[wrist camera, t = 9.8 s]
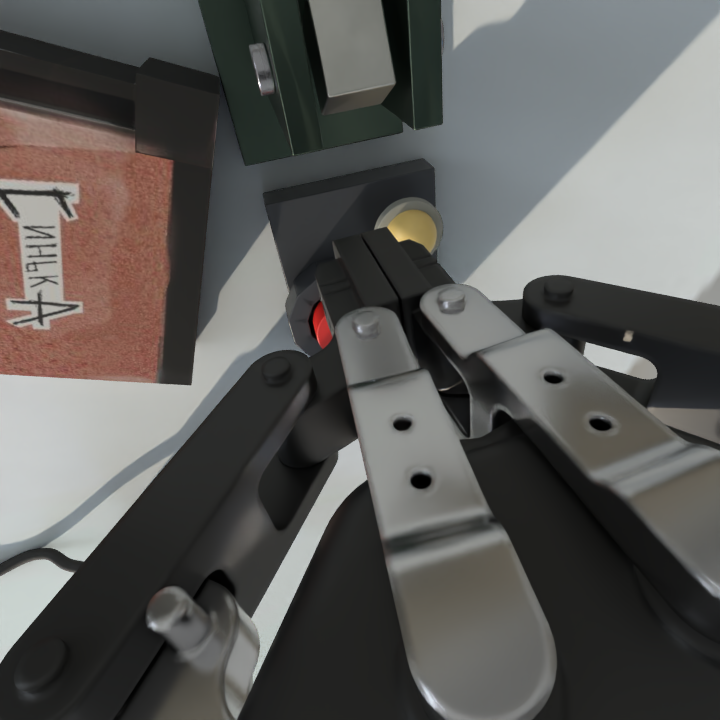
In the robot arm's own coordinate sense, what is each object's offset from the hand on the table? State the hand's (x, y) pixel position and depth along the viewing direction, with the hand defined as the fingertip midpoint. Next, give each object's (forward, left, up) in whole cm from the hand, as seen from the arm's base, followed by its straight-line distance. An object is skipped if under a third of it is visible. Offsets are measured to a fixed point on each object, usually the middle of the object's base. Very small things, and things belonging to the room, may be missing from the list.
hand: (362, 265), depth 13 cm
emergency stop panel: (+3, -9, -17) cm, 19 cm away
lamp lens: (+5, -6, -13) cm, 15 cm away
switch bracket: (+2, +4, -17) cm, 18 cm away
